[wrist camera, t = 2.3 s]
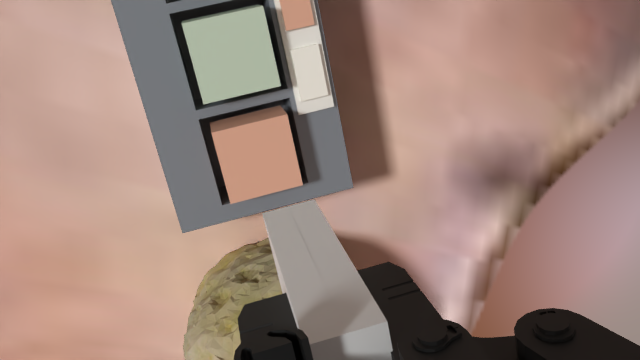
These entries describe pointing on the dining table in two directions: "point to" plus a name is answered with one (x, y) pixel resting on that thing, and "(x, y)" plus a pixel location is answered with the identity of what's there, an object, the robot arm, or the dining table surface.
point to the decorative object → (229, 301)
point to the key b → (231, 53)
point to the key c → (256, 153)
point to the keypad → (233, 104)
